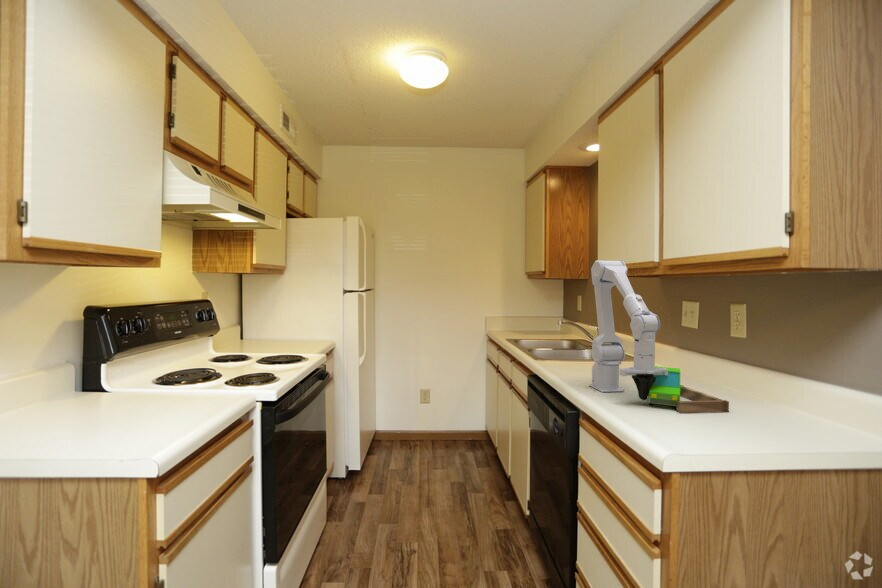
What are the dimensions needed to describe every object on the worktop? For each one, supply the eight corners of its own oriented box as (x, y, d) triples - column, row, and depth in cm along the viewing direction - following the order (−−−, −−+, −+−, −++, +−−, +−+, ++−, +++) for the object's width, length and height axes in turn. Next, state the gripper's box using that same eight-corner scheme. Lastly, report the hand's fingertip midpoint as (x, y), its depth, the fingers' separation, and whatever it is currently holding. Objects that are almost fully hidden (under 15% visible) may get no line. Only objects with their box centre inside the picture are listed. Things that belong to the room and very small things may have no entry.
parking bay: (638, 395, 141) (638, 385, 141) (680, 394, 143) (681, 385, 143) (680, 413, 121) (680, 402, 121) (728, 411, 123) (729, 401, 123)
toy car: (644, 406, 128) (645, 372, 127) (646, 396, 139) (647, 365, 139) (684, 411, 123) (685, 376, 123) (682, 400, 135) (683, 368, 134)
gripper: (629, 356, 125) (627, 403, 126) (675, 356, 127) (674, 402, 128) (616, 352, 132) (615, 397, 133) (660, 352, 134) (659, 396, 135)
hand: (643, 399), depth 131 cm, fingers closed
